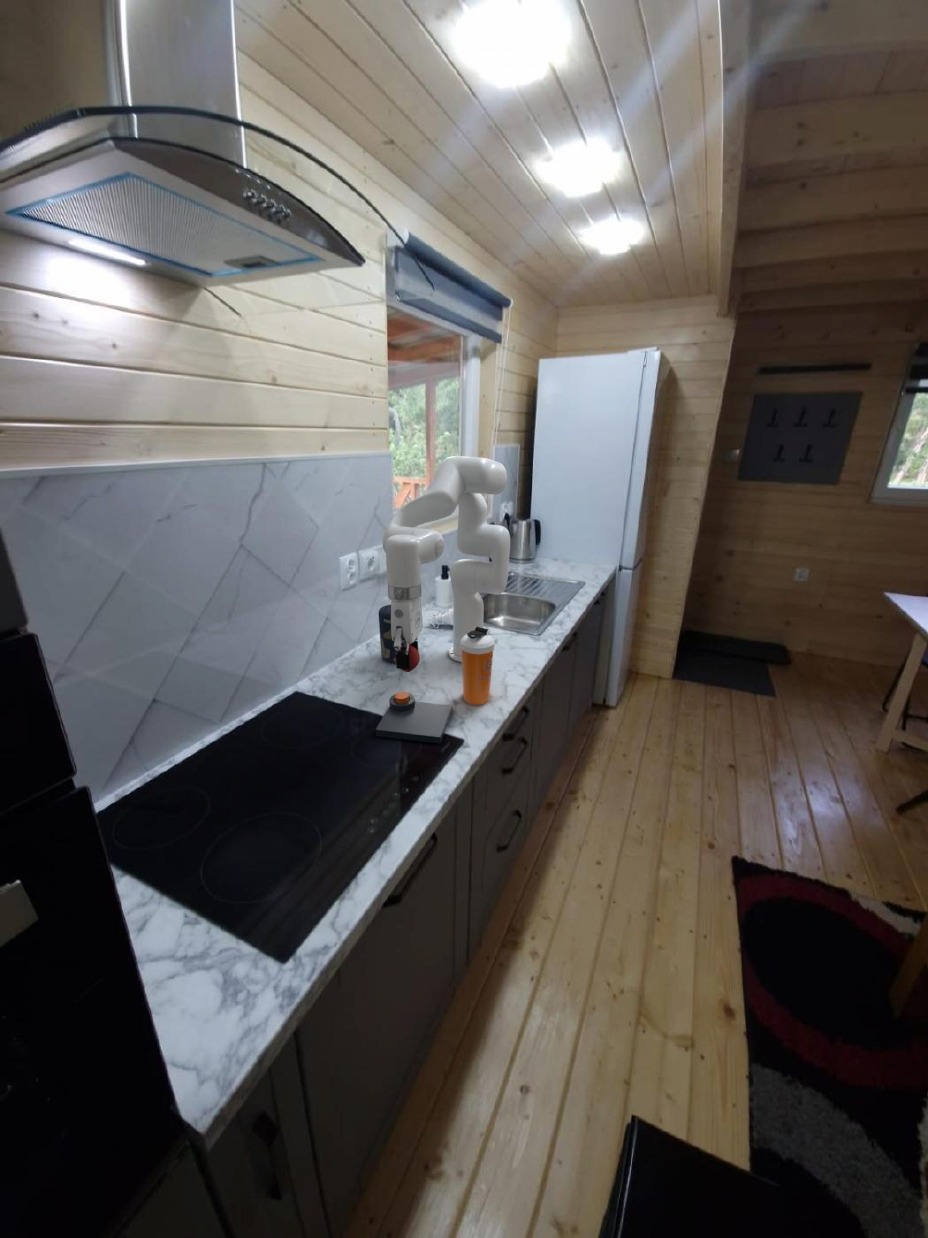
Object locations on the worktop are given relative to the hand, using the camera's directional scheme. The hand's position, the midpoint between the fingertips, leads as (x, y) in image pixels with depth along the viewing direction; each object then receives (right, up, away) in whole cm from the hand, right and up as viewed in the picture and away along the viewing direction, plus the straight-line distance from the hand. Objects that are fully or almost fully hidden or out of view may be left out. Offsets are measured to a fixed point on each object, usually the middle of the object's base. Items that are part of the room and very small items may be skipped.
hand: (407, 661), depth 118 cm
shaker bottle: (+17, -12, +18) cm, 27 cm away
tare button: (-3, -11, +11) cm, 15 cm away
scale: (+1, -16, +6) cm, 17 cm away
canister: (-8, -3, +40) cm, 41 cm away
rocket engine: (+10, +8, +65) cm, 67 cm away
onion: (0, -3, +1) cm, 3 cm away
